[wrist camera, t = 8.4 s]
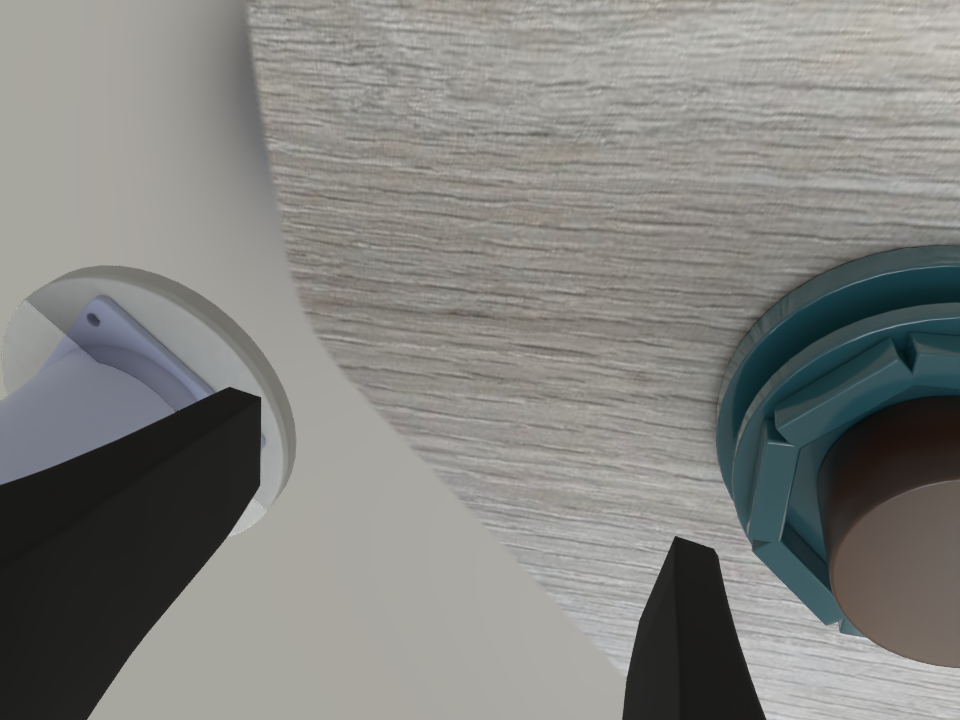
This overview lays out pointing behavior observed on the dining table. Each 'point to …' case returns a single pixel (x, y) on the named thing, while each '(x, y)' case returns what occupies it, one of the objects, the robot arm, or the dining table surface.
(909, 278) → the stand
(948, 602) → the cylinder
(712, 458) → the dining table surface
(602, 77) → the dining table surface
